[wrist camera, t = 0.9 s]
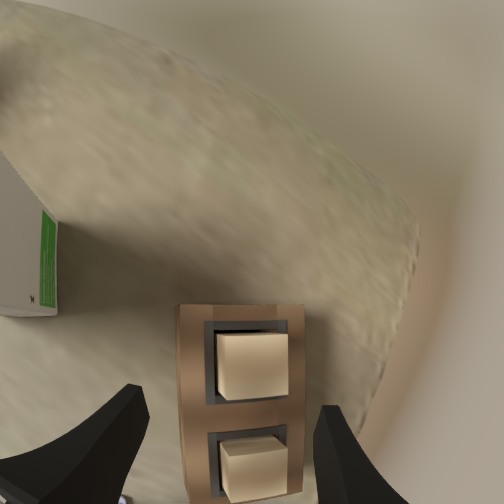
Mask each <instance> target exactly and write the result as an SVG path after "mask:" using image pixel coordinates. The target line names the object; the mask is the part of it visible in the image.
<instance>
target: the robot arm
mask: <svg viewBox="0 0 504 504" xmlns="http://www.w3.org/2000/svg"><path fill="white" fill-rule="evenodd" d="M149 419H150V416H149V412H148V409H147V405H146V402H145V398H144V394H143V390H142V386H138V385H133V384H127V385H126V386H125V387H124V388H122V389H121V390H120V391H119V392H118V393H117V394H116V395H115V396H114V397H112V398H111V399H110V400H109V401H108V402H107V403H106V404H104V405H103V406H102V407H101V408H100V409H99V410H97V411H96V412H95V413H94V414H93V415H91V416H90V417H89V418H87V419H86V420H85V421H83V422H82V423H81V424H79V425H78V426H77V427H75V428H74V429H72V430H71V431H69V432H68V433H66V434H64V435H63V436H61V437H59V438H58V439H56V440H54V441H52V442H50V443H48V444H46V445H44V446H42V447H39V448H37V449H34V450H32V451H29V452H26V453H23V454H20V455H17V456H13V457H9V458H5V459H0V495H1V496H2V497H3V498H4V499H6V500H7V501H6V503H5V504H119V503H122V504H127V503H126V499H125V498H124V497H123V496H121V492H122V489H123V486H124V483H125V480H126V477H127V475H128V473H129V470H130V468H131V466H132V464H133V461H134V459H135V457H136V455H137V452H138V450H139V448H140V446H141V443H142V441H143V439H144V436H145V433H146V429H147V426H148V422H149ZM313 458H314V467H315V475H316V484H317V492H318V502H319V504H409V503H408V502H407V501H406V500H404V499H403V498H402V497H401V496H400V495H399V494H398V493H397V492H396V491H395V490H394V489H393V488H392V487H391V486H390V485H389V484H388V483H387V482H386V480H385V479H384V478H383V477H382V476H381V475H380V473H379V472H378V471H377V470H376V468H375V467H374V466H373V464H372V463H371V461H370V460H369V459H368V457H367V456H366V454H365V453H364V451H363V450H362V448H361V446H360V445H359V443H358V442H357V440H356V438H355V437H354V435H353V433H352V431H351V429H350V427H349V426H348V424H347V422H346V420H345V418H344V416H343V414H342V412H341V409H340V407H339V406H338V405H322V408H321V412H320V415H319V419H318V422H317V425H316V428H315V432H314V435H313ZM0 504H4V503H2V502H1V501H0Z"/></svg>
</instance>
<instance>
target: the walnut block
mask: <svg viewBox="0 0 504 504" xmlns="http://www.w3.org/2000/svg"><path fill="white" fill-rule="evenodd" d="M250 329H257V332H269V333H280V334H288V395H280V396H272V397H262V398H252V399H240V400H226V399H225V398H224V397H223V396H222V395H221V393H220V392H219V391H218V390H217V389H216V388H215V383H214V331H213V330H250ZM176 369H177V394H178V413H179V428H180V441H181V453H182V464H183V474H184V483H185V487H186V490H187V494H188V498H189V502H190V504H241V503H248V502H254V501H260V500H266V499H271V498H276V497H281V496H285V495H290V494H294V493H298V492H302V484H303V463H304V433H305V315H304V304H300V305H204V304H179V305H177V306H176ZM265 435H273V436H274V437H275V438H276V439H277V440H279V441H280V442H281V443H282V444H283V445H284V446H286V447H287V448H288V464H287V493H286V494H281V495H277V496H272V497H267V498H261V499H255V500H249V501H242V502H235V503H231V502H230V500H229V498H228V496H227V494H226V492H225V490H224V488H223V486H222V484H221V482H220V480H219V474H218V457H217V441H218V440H230V439H240V438H249V437H257V436H265Z"/></svg>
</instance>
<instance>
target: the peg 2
mask: <svg viewBox="0 0 504 504" xmlns="http://www.w3.org/2000/svg"><path fill="white" fill-rule="evenodd" d="M217 457H218V474H219V480H220V482H221V484H222V486H223V488H224V490H225V492H226V494H227V496H228V498H229V500H230V502H231V503H235V502H242V501H249V500H255V499H261V498H267V497H272V496H277V495H281V494H286V493H287V464H288V448H287V447H286V446H284V445H283V444H282V443H281V442H280V441H279V440H277V439H276V438H275V437H274V436H273V435H265V436H257V437H249V438H240V439H230V440H218V441H217Z"/></svg>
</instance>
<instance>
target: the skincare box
mask: <svg viewBox="0 0 504 504" xmlns="http://www.w3.org/2000/svg"><path fill="white" fill-rule="evenodd" d="M57 233H58V221H57V219H56V218H55V217H54V216H53V215H52V214H51V213H50V212H49V210H48V209H47V208H46V207H45V206H44V205H43V203H42V202H41V201H40V200H39V199H38V197H37V196H36V195H35V194H34V193H33V191H32V190H31V189H30V188H29V187H28V185H27V184H26V183H25V181H24V180H23V179H22V178H21V177H20V175H19V174H18V173H17V171H16V170H15V169H14V168H13V166H12V165H11V164H10V162H9V161H8V160H7V158H6V157H5V156H4V154H3V153H2V151H1V150H0V316H21V317H25V316H56V315H57V313H58V307H57Z"/></svg>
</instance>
